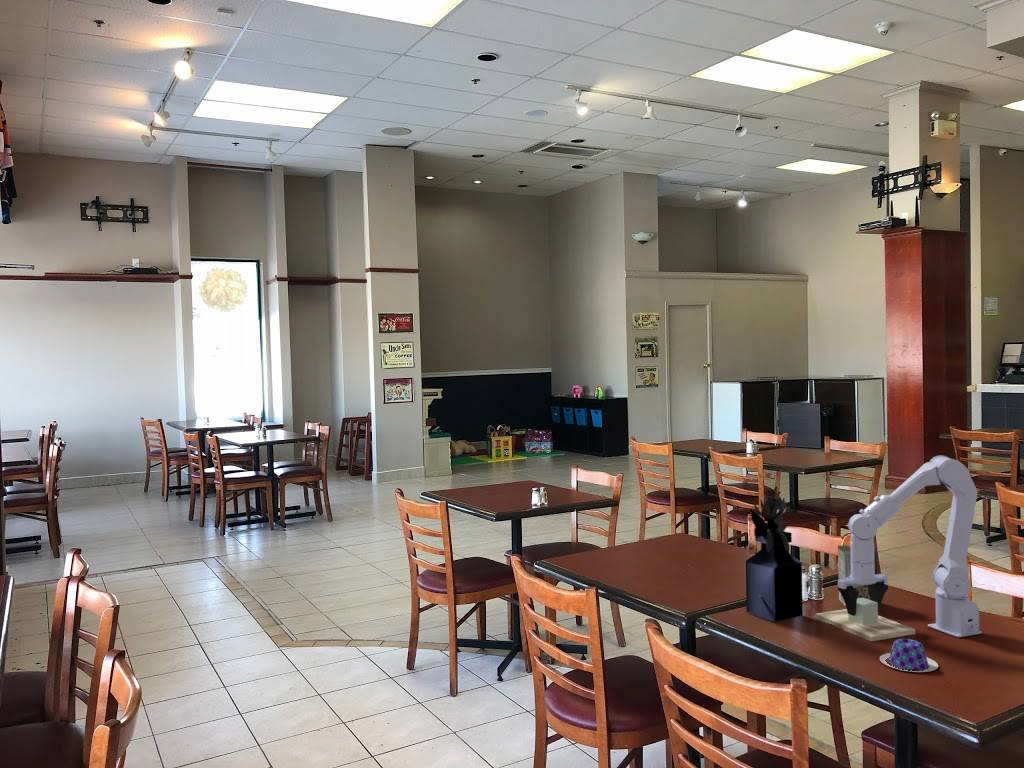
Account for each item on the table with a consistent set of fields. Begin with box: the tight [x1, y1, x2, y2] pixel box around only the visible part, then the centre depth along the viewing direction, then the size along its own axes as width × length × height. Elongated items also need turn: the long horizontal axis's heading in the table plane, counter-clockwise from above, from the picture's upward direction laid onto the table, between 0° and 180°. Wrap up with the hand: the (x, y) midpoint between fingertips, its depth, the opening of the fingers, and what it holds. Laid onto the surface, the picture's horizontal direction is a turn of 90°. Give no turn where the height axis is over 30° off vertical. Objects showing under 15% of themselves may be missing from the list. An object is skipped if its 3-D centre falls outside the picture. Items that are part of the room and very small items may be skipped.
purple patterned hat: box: [879, 638, 939, 673], centre depth 182 cm, size 12×12×5 cm
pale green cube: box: [848, 598, 879, 625], centre depth 208 cm, size 5×5×5 cm
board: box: [814, 608, 916, 642], centre depth 208 cm, size 20×14×4 cm
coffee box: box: [837, 544, 878, 607], centre depth 227 cm, size 9×6×16 cm
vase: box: [745, 486, 804, 623], centre depth 218 cm, size 14×12×35 cm
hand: (863, 612), depth 208 cm, fingers open, 7 cm apart
